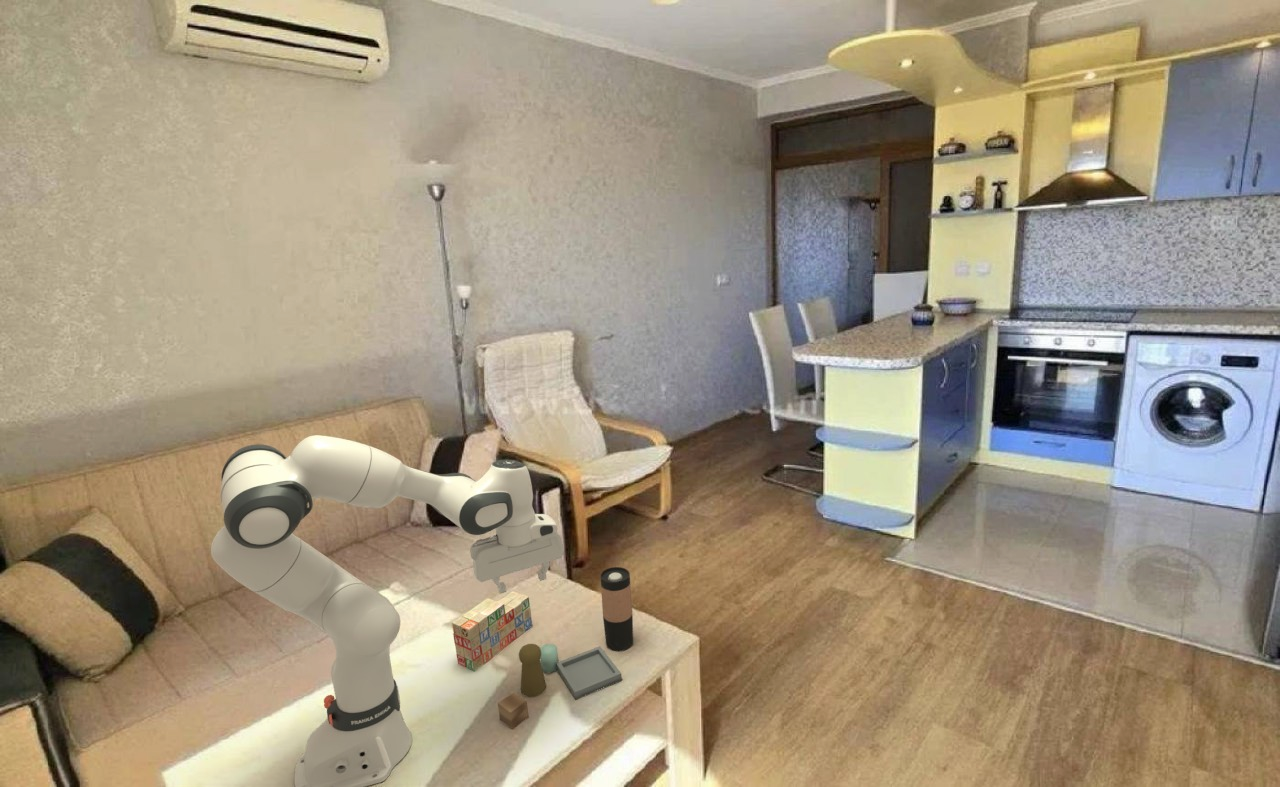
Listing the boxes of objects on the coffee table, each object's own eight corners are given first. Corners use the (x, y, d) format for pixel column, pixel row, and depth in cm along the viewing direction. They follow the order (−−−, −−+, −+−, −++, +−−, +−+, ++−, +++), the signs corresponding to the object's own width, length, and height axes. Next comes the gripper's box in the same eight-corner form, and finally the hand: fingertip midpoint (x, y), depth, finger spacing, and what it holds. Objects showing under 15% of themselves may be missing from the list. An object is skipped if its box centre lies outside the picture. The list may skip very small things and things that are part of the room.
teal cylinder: (544, 675, 152) (542, 657, 150) (538, 665, 155) (536, 647, 154) (561, 668, 154) (559, 651, 152) (555, 658, 157) (553, 641, 156)
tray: (575, 699, 143) (574, 692, 143) (556, 669, 153) (556, 662, 153) (621, 680, 148) (621, 673, 148) (600, 652, 159) (600, 646, 158)
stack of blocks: (516, 619, 175) (511, 580, 172) (532, 626, 171) (528, 586, 168) (457, 664, 157) (451, 621, 154) (474, 672, 154) (468, 629, 151)
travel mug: (599, 642, 163) (593, 574, 158) (621, 629, 168) (617, 563, 163) (617, 656, 157) (612, 586, 152) (640, 642, 162) (636, 574, 157)
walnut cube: (512, 729, 135) (510, 712, 134) (500, 720, 138) (497, 703, 137) (528, 717, 139) (526, 700, 137) (516, 708, 142) (514, 691, 140)
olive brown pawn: (541, 698, 144) (537, 657, 141) (516, 695, 145) (512, 655, 143) (550, 680, 150) (546, 640, 147) (526, 677, 151) (522, 638, 148)
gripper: (472, 548, 130) (480, 606, 133) (563, 523, 139) (569, 578, 142) (465, 536, 135) (473, 592, 139) (554, 513, 144) (559, 566, 148)
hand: (522, 585), depth 141 cm, fingers open, 8 cm apart
